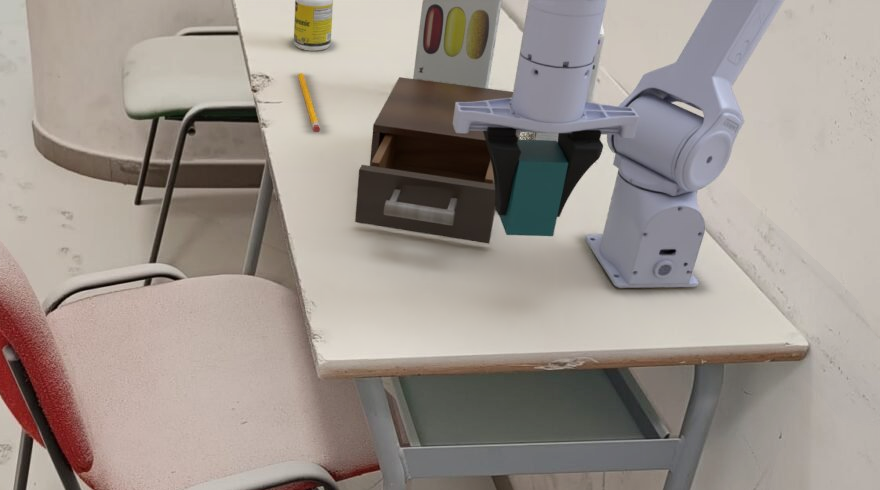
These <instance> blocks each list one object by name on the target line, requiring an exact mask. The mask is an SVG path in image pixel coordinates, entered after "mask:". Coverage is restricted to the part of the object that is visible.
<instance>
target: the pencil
mask: <svg viewBox="0 0 880 490" xmlns="http://www.w3.org/2000/svg"><path fill="white" fill-rule="evenodd" d="M297 78H298V80H299V85H300V88H301V91H302V94H303V98H304V102H305V105H306V109H307V111H308V116H309V120H310V122H311V126H312V129H313V131H314V133H319V132H320V130H321V127H320V124H319V121H318V118H317V114H316V111H315V108H314V107H315V106H314V104H313V101H312V97H311V94H310V91H309V88H308V84H307V80H306V78H305V75H304V72H298V75H297Z"/></svg>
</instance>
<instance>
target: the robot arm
mask: <svg viewBox="0 0 880 490" xmlns="http://www.w3.org/2000/svg"><path fill="white" fill-rule="evenodd" d="M607 2H608V0H528V2H527V5H526V6H527V7H526V12H525V17H524V18H525V20H524V24H523V29H522V37H521V41H520V47H519V48H520V49H519V54H518V62H517V66H516V72H515V78H514V84H513V89H512V90H513V91H512V92H513V96H512V97H511V98H503V99H494V100H485V101H476V102H456V103H455V110H454V117H453V127H454V130H455V132H456V133H463V134H466V133H469V130H472V131H483V133H484V137H485V140H486V143H487V147H488V150H489V154H490V158H491V163H492V168H493V175H494V184H495V207H496V210H495V211H496V212H497V215H498V216H499V215H504V216H506V213H507V209H508V205H509V201H510V195H511V187H512V181H513V177H514V173H515V170H516V166H517V163H518V160H519V157H520V154H521V151H520V149H519V146H518V144H517V142H518V137H517V136H516V132H520V133H533V132H539V133H558V144H559V146H560V148H561V150H562V152H563V154H564V156H565V157H566V159H567V161H568V167H567V172H566V177H565V181H564V186H563V191H562V196H561V201H560V205H559V210H558V215H557V218H560V217H561V214H562V212H563V209H565V208H564V207H565V206H566V204H567V201H568V200H569V198H570V196H571V194H572V193H573V191H574V189H575V187H576V186H577V185H578V183H579V181H580V180H581V179H582V177H584V175H585V174H586V173H587V171H588V170H589V169H590V168H591V167H592V166H593V165H594V164H595V163H596V162H597V161H598V160H599V159H600V158H601V155H602V153H603V148H604V144H603V143H602V141H601V136H602V135H606V143H607V146H608V149H609V150H610V151H611V152H612V153H613V154H614V158H613V163H612V166H615V167H616V168H617V174H616V178H615V182H614V187H613V191H612V194H611V199H610V202H609V206H608V212H607V214H606V215H607V216H606V219H605V224H604V228H603V231H602V234H587V235H585V238H584V240H585V242H586V243H587V245H588V246H589V248H590V250H591V251H592V252H593V254H594V256H595V258H596V259H597V261H598V262H599V263H600V265H601V267H602V268H603V270H604V271H605V273H606V274H607V276H608V278H609V279H610V281H611V282H612V284H613V286H615V287H616V288H619V289H632V288H633V289H635V288H636V289H637V288H640V289H641V288H697V287H698V286H699V280H698V279H697V277H696V276H695V275H694V274H693V272H694V270H695V265H696V262H697V259H698V256H699V252H700V249H701V246H702V243H703V239H704V235H705V233H706V221H705V218H704V216H703V214H702V212H701V210H700V207H699V204H698V191H700V190H702V189H704V188H705V187H707V186H709V185H710V184H712V183H713V182H714V181H715V180H716V179H717V178H718V177H719V176H720V175H721V174H722V173H723V171H724V170H725V168H726V166H727V164H728V162H729V160H730V158H731V155H732V151H733V146H734V143H735V141H736V139H737V137H738V134H739V132H740V130H741V129H742V127H743V126H744V124H745V117H744V114H743V111H742V109H741V106H740V104H739V102H738V99H737V98H736V95H735V93H734V89H733V87H734V85H735V83H736V81H737V80H738V78H739V76H740V75H741V73H742V72H743V70H744V68H745V67H746V65H747V63H748V62H749V60H750V58H751V57H752V54H753V53H754V52H755V50H756V48H757V46H758V45H759V43H760V42H761V40H762V39H763V36H764V35H765V33H766V32H767V30H768V28H769V26H770V25H771V23H772V22H773V20H774V19H775V17H776V15H777V14H778V12H779V10H780V9H781V7H782V5H783V4H784V2H785V0H711V1H710V3H709V4H708V6H707V8H706V10H705V11H704V13H703V14H702V17H701V18H700V20H699V22H698V23H697V25H696V27H695V28H694V30H693V32H692V33H691V36H690V37H689V39H688V40H687V42H686V44H685V45H684V47H683V49H682V51H681V53H680V54H679V56H678V58H677V60H676V61H675V62H673V63H670V64H668V65H665V66H662V67H659V68H656V69H654V70H651V71H649V72H646V73H644V74H643V75H642V76H641V78H640V79H639V82H638V83H637V85H636V86H635V88H634V89H633V91H632V92H631V93H630V94H629V95H628V96H627V97H626V98H625V99H623V101H621V103H619V105H609V104H604V103H596V102H592V103H591V102H586V97H587V92H588V88H589V83H590V78H591V73H592V69H593V64H594V59H595V54H596V49H597V45H598V40H599V35H600V31H601V26H602V22H603V20H604V16H605V11H606V6H607ZM676 102H677V103H683V104H685V105H687V106H690V107H692V108H694V109H696V110H698V111H700V112H702V114H703V116H702V115H699V114H697V113H695V112H692V111H690V110H688V109H686V108H684V107H681V106H680V105H677V104H674V103H676Z"/></svg>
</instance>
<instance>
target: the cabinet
mask: <svg viewBox="0 0 880 490" xmlns="http://www.w3.org/2000/svg"><path fill="white" fill-rule="evenodd" d="M512 96H513V91H511V90H510V91H509V90H502V89H496V88H495V89H494V88H489V87H488V88H480V87H472V86H464V85H456V84H449V83H441V82H433V81H425V80H418V79H413V78H411V77H410V78H408V77H401V76H399V77H398V79H397V81H396V82H395V84H394V86H393V87H392V90H391V91H390V93H389V94H388V97H387V99H386V100H385V103H384V105H383V106H382V107H381V110H380V112H379V113H378V114H377V115H378V116H377V117H376V118H375V121H374V122H373V125H372V134H371V135H372V136H371V146H370V158H369V159H370V160H369V166H371V162H372V160H373V158H374V156H375V154H376V152H377V150H378V148H379V146H380V144H381V142H382V141H383V139H384V137H385V135H386V133H388V134H395V135H402V136H410V137H417V138H424V139H431V140H438V141H445V142H452V143H459V144H466V145H473V146H480V147H487V143H486V140H485V137H484V133H483V131H472V130H469V133H466V134H463V133H456V132H455V130H454V127H453V117H454V110H455V103H456V102H476V101H485V100H494V99H503V98H511V97H512ZM516 136H517V137H518V140H520V137H521V132H516ZM495 211H497V210H496V208H495Z"/></svg>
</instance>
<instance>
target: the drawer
mask: <svg viewBox="0 0 880 490" xmlns="http://www.w3.org/2000/svg"><path fill="white" fill-rule="evenodd" d="M358 170H359V171H358V179H357V192H356V193H357V194H356V203H355V205H356V206H355V207H356V208H355V218H354V223H358V224H363V225H364V224H365V225H369V226H377V227H382V228H383V227H384V228H389V229H393V230H394V229H395V230H401V231H408V232H413V233H418V234H419V233H421V234H427V235H432V236H437V237H444V238H451V239H457V240H463V241H469V242H474V243H475V242H476V243H482V244H487V245H489V244H490V242H491V238H492V231H493V225H494V219H495V214H496V210H495V208H496V207H495V184H494V175H493V168H492V163H491V158H490V154H489V150H488V147H480V146H473V145H466V144H459V143H452V142H445V141H438V140H431V139H424V138H417V137H410V136H402V135H395V134H388V133H386V135H385V137H384V139H383V141H382V142H381V144H380V146H379V148H378V150H377V152H376V154H375V156H374V158H373V160H372V162H371V166H370V165H367V164H361V166H360V167H359V169H358Z"/></svg>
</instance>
